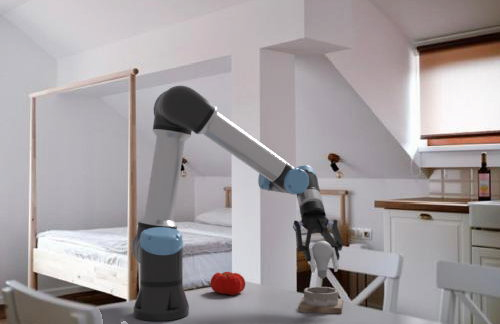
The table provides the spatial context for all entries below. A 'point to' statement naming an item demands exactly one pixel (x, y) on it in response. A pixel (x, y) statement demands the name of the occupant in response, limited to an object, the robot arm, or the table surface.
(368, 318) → the table surface
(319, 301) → the bulb socket
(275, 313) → the table surface
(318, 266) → the lightbulb
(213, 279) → the tomato
